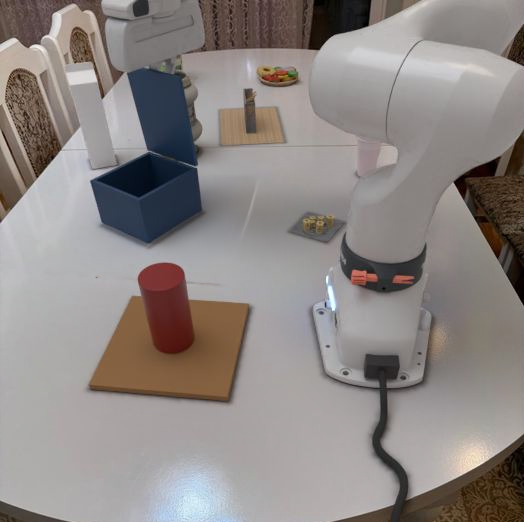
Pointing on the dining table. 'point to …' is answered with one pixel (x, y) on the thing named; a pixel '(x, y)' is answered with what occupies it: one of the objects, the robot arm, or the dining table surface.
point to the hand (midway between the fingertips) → (165, 86)
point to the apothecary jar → (190, 106)
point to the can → (167, 307)
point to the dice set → (317, 227)
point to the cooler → (147, 196)
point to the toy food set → (277, 75)
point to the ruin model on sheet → (250, 123)
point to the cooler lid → (163, 114)
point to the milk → (91, 114)
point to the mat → (174, 365)
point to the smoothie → (367, 155)
